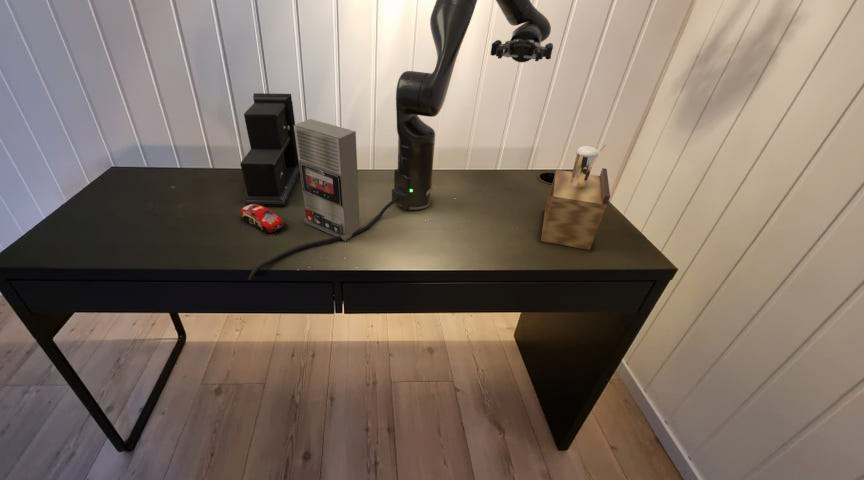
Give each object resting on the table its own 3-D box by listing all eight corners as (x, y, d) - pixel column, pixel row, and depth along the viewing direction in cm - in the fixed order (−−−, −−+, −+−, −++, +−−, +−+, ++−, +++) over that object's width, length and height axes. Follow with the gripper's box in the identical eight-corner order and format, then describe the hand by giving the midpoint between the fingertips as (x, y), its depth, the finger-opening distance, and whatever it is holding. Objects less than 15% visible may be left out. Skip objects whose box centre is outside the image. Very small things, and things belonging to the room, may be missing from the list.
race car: (288, 228, 103) (285, 214, 100) (270, 237, 100) (267, 223, 97) (257, 210, 110) (254, 197, 107) (239, 218, 106) (236, 205, 104)
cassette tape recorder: (304, 223, 104) (290, 125, 89) (320, 214, 108) (310, 118, 93) (344, 242, 98) (336, 139, 82) (360, 231, 102) (356, 131, 86)
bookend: (285, 207, 111) (270, 119, 97) (245, 206, 112) (225, 119, 97) (302, 170, 130) (291, 93, 115) (268, 170, 130) (254, 92, 115)
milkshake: (593, 191, 93) (608, 148, 87) (568, 188, 94) (581, 146, 87) (589, 182, 96) (603, 140, 90) (565, 180, 97) (577, 138, 91)
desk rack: (540, 241, 98) (555, 188, 90) (544, 211, 109) (558, 162, 101) (589, 250, 95) (610, 196, 86) (588, 219, 106) (606, 168, 97)
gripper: (500, 25, 106) (490, 34, 94) (557, 28, 102) (554, 38, 90) (495, 57, 111) (485, 70, 99) (550, 61, 107) (546, 75, 95)
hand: (518, 55), depth 95 cm, fingers open, 8 cm apart
